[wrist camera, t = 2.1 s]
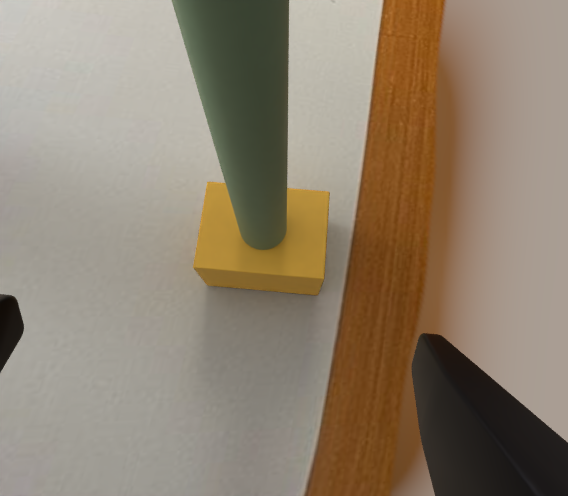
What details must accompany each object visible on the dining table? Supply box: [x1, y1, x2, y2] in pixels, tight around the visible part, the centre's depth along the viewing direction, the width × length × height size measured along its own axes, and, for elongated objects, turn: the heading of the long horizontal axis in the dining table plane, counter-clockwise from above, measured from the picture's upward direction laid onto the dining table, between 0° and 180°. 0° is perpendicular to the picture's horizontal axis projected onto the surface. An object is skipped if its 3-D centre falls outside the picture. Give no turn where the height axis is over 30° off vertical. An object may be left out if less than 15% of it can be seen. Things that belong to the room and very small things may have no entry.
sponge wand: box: [172, 0, 330, 295], centre depth 15 cm, size 4×6×17 cm
